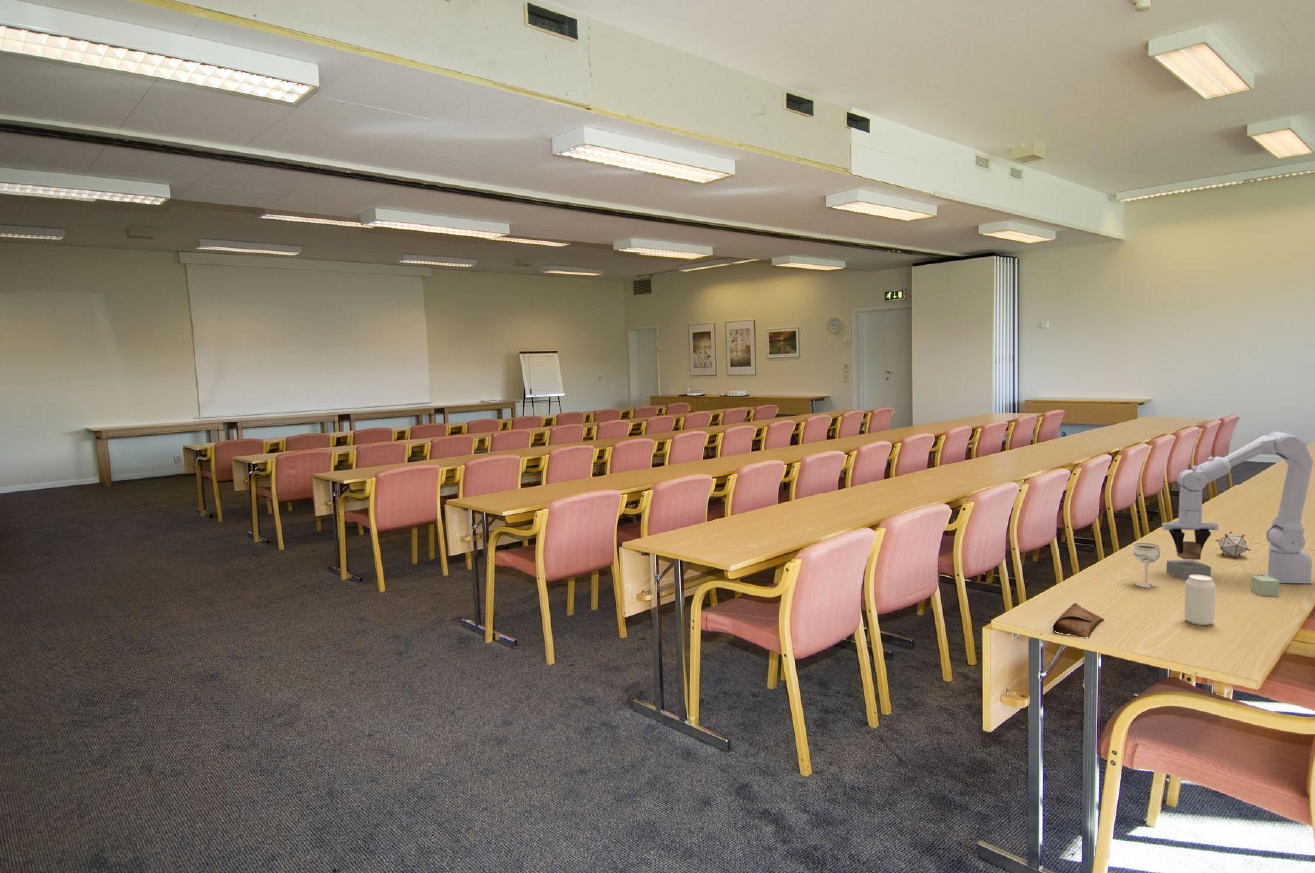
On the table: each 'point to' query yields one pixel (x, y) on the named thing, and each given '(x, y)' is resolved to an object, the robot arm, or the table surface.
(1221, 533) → the table surface
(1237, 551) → the game die
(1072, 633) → the sunglasses case
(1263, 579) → the sage-green block
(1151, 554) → the wineglass
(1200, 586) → the beverage can
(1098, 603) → the table surface
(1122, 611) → the table surface
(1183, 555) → the walnut block
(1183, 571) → the grey square block
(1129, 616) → the table surface
